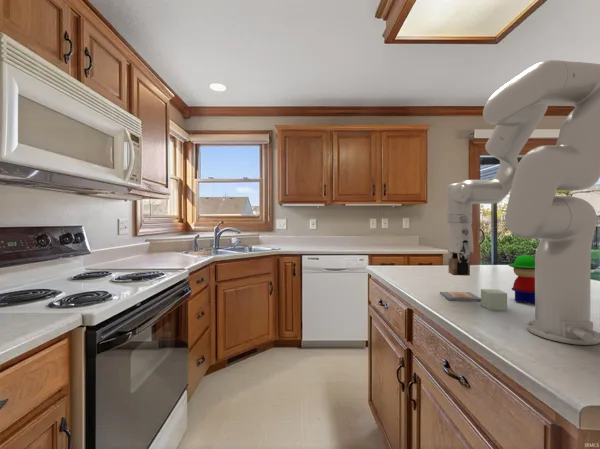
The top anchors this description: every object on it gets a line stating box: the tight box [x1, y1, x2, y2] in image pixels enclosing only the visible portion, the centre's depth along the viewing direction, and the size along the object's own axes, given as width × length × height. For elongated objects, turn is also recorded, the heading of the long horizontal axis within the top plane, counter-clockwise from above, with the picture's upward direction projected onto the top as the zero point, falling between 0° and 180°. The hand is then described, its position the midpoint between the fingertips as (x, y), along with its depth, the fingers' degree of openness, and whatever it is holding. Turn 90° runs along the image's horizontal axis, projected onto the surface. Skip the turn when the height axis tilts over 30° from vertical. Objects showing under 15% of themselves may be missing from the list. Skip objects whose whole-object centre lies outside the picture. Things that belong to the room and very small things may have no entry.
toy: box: [508, 254, 535, 305], centre depth 96 cm, size 9×9×15 cm
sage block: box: [480, 288, 508, 311], centre depth 90 cm, size 5×5×5 cm
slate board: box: [439, 291, 481, 302], centre depth 101 cm, size 9×10×1 cm
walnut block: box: [448, 257, 471, 277], centre depth 102 cm, size 5×5×5 cm
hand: (459, 272), depth 102 cm, fingers closed on walnut block, 5 cm apart
